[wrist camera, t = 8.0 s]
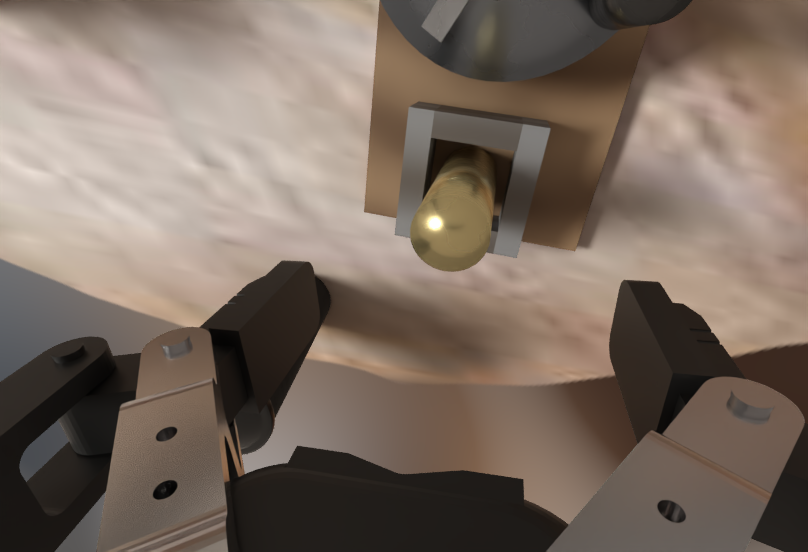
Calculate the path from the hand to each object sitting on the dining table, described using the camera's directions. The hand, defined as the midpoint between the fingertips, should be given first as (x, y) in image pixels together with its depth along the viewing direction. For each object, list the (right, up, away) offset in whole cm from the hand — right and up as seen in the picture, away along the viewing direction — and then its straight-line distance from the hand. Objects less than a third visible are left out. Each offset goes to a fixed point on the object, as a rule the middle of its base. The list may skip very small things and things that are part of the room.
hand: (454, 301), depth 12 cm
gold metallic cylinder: (+3, +7, +18) cm, 19 cm away
